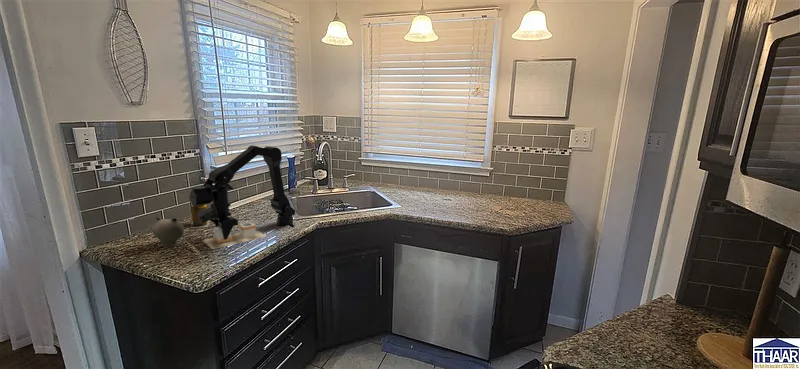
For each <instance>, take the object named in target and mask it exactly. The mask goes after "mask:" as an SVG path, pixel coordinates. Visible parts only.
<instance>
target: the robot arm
mask: <svg viewBox="0 0 800 369" xmlns="http://www.w3.org/2000/svg"><path fill="white" fill-rule="evenodd" d="M257 156H262V158H263V160H264V162H265V164H266V165H267V167H268V172H269V176H270V181H271V186H272V192H273V193H272V194H273V196H272V198H271V199H269V203H270V207H271V208H272V209H273V211H274V212H275V213H276V214H277V217H276V225H277V226H279V227H287V226H288V227H290V228H293V227H295V226H296V225H295V224H294V217H293V216H295V214H296V209H294V208H293V206H291V203H290V200H289V198H288V196H287V195H286V194H285V188H284V183H283V176H282V172H281V163H282V161H283V160H282V150H281V149H280V148H279V147H276V146H275V147H274V146H271V145H270V146H269V145H266V146H264V147H260V146H258V145H249V146H248V147H247V148H246V149H245V150H243V151H242V152H241V153H240V154H238V155H237V156H236V157H235V158H233V159H232V160H231V161H229V162H227V163H226V164H225V165H222V166H219V167H217V168H215V169H213V170H211V171H210V172H209V173H208V177H207V179H206V181H205V182H204V183H203V185H202V187H192V188H191V191H190V193H189V196H188V197H189V202H190V205H191V206H198V205H203V204H205V205H207V204H209V205H210V207H209V208H208V207H207V209H205V210H203V211H201V212H199V213H197V216H198V218H199V220H200V221H201V222H202V223H205V222H207V221H209V222H212V223H213V224H214V226H215V228H216V227H220V228H221V230H222V234H223V238H224V240H226V239H227V238H228V236H229V234H230V232H231V233H232V230H233V228H234V227H235V226H238V224H239V220H238V219H237V218H236V217H234V216H232V212H230V207H231V203H230V201H229V191H230V190H234V187H233V186H231V185H230V184H229V183H230V182H231V181H232V180H233V178H234V176H235V175H236V173H237V172H239V171H240V170H241V169H242V168H243V167H244V166H246V165H247V164H248V163H250V162H251V161H252V160H253V159H254V158H256V157H257Z"/></svg>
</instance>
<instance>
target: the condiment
mask: <svg viewBox="0 0 800 369" xmlns="http://www.w3.org/2000/svg"><path fill="white" fill-rule="evenodd" d="M205 209H208V207H207V204H203V205H198V206H193V205H191V215H192V216H191V217H192V222H191V223H190V229H196V228H197V229H199V228H206V227H207V228H208V227H209V226H210V224H209V223H210V220H208V221H207V222H205V223H202V222H201V221H200V220H199V218H198V216H197V213H199V212H201V211H203V210H205Z"/></svg>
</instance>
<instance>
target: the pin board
mask: <svg viewBox="0 0 800 369" xmlns="http://www.w3.org/2000/svg"><path fill="white" fill-rule="evenodd" d="M255 231H256V236H253V237H248V238H243V237H241V236H240V235H239V232H235V233H231V236H232V239H233V240H229V241H225V242H221V243H217V242H216V241H215V240H214V239H213V237H210V238H206V239H202V240H201V241H202V242H203V243H205V245H207V246H208V247H209V248H210V249H212V250H215V249H221V248H224V247H228V246H232V245H235V244H241V243H245V242H249V241H254V240H258V239H262V238H266V237H267V235H266V234H264V233H262V232H261V231H260V230H258V229H257V228H255Z"/></svg>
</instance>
